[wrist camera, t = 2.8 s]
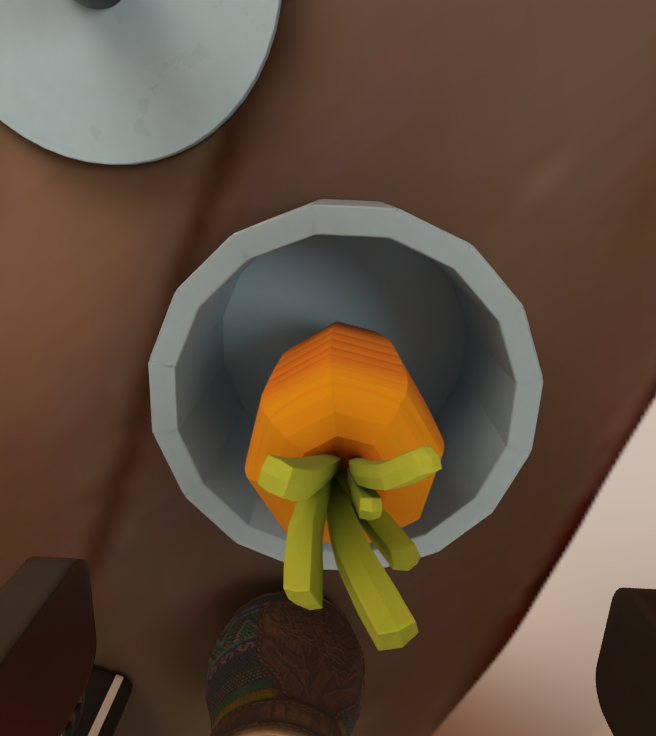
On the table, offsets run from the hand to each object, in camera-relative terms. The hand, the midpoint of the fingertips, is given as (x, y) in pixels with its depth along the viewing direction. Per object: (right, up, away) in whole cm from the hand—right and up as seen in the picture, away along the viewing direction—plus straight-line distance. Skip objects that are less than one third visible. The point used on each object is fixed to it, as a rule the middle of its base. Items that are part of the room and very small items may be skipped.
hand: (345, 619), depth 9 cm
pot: (0, +5, +15) cm, 16 cm away
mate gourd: (-2, -9, +20) cm, 22 cm away
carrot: (0, +5, +15) cm, 16 cm away
